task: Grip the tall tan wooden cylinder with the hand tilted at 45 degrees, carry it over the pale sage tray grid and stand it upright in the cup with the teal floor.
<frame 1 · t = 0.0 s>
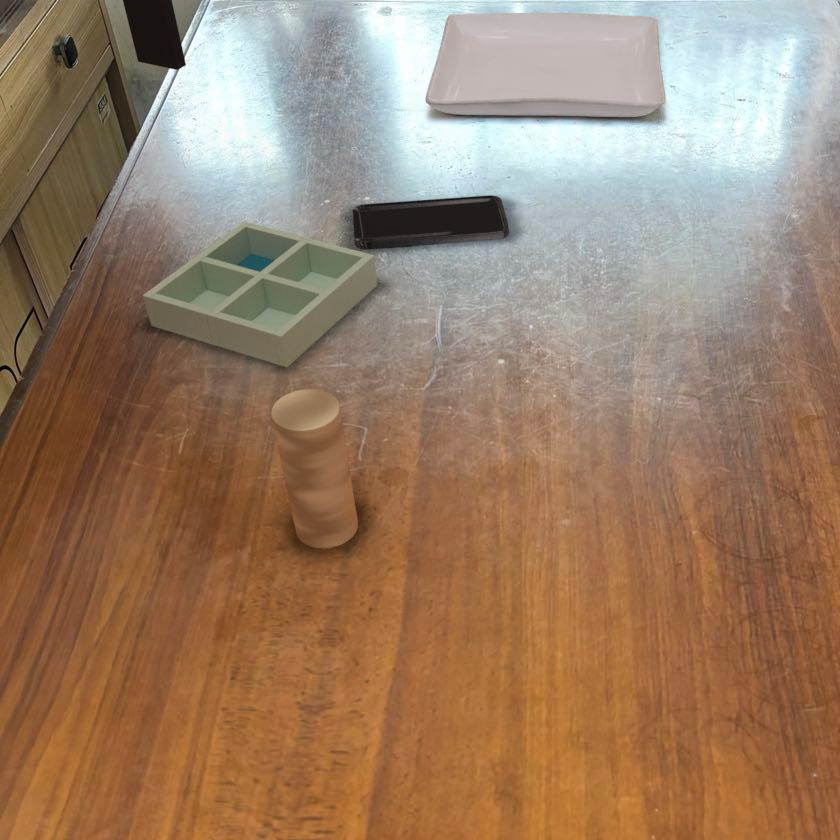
hand: (74, 111, 56), 31 cm above the table, tool pointing down, fingers open, 13 cm apart
phone: (430, 230, 110), on the table
grid: (268, 309, 99), on the table
square plate: (548, 85, 136), on the table
tan wooden cylinder: (328, 531, 79), on the table
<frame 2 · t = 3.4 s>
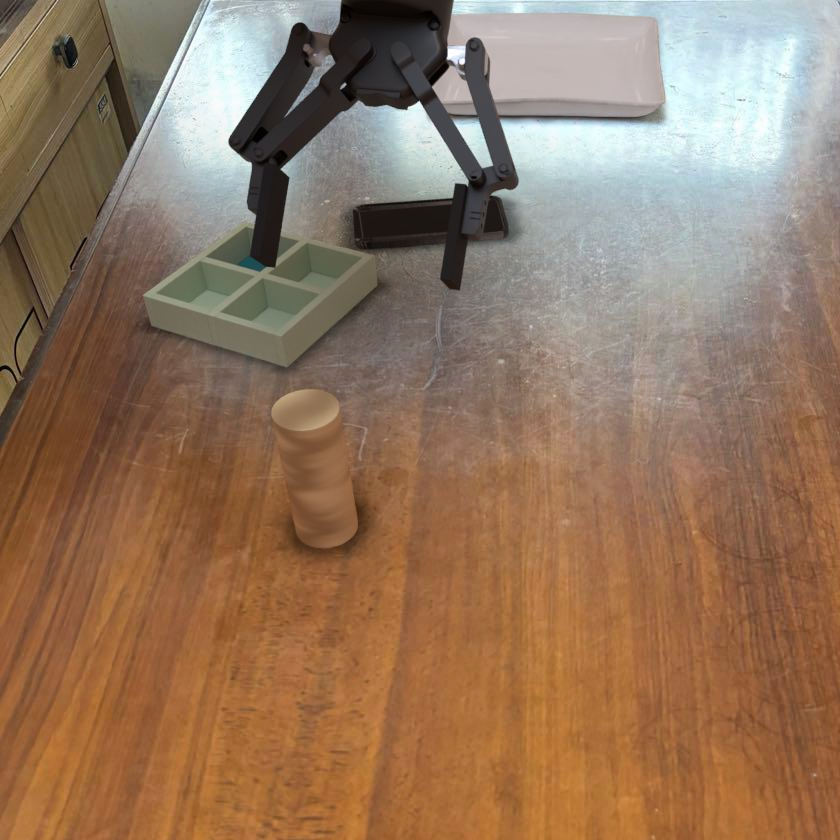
hand: (354, 274, 76), 15 cm above the table, tool tilted 45°, fingers open, 13 cm apart
nothing on the table moved.
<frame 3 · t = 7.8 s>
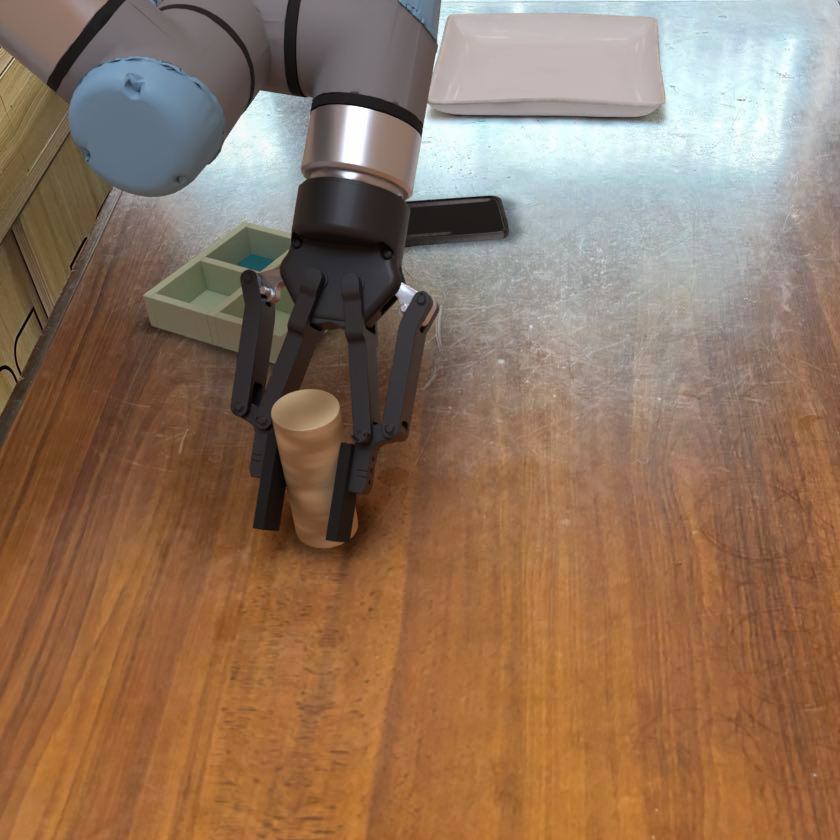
hand: (301, 534, 74), 3 cm above the table, tool tilted 45°, fingers closed on tan wooden cylinder, 4 cm apart
tan wooden cylinder: (328, 531, 79), on the table, touching gripper
everything else where it was.
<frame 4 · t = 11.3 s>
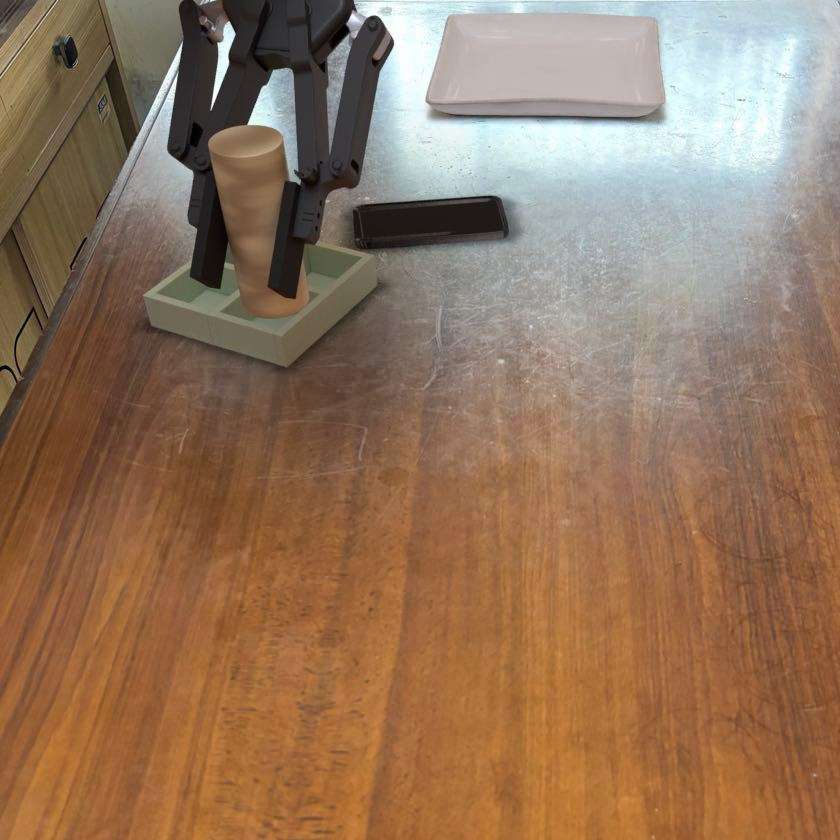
hand: (243, 287, 68), 18 cm above the table, tool tilted 45°, fingers closed on tan wooden cylinder, 4 cm apart
tan wooden cylinder: (276, 300, 73), point 15 cm above the table, touching gripper
everything else where it was.
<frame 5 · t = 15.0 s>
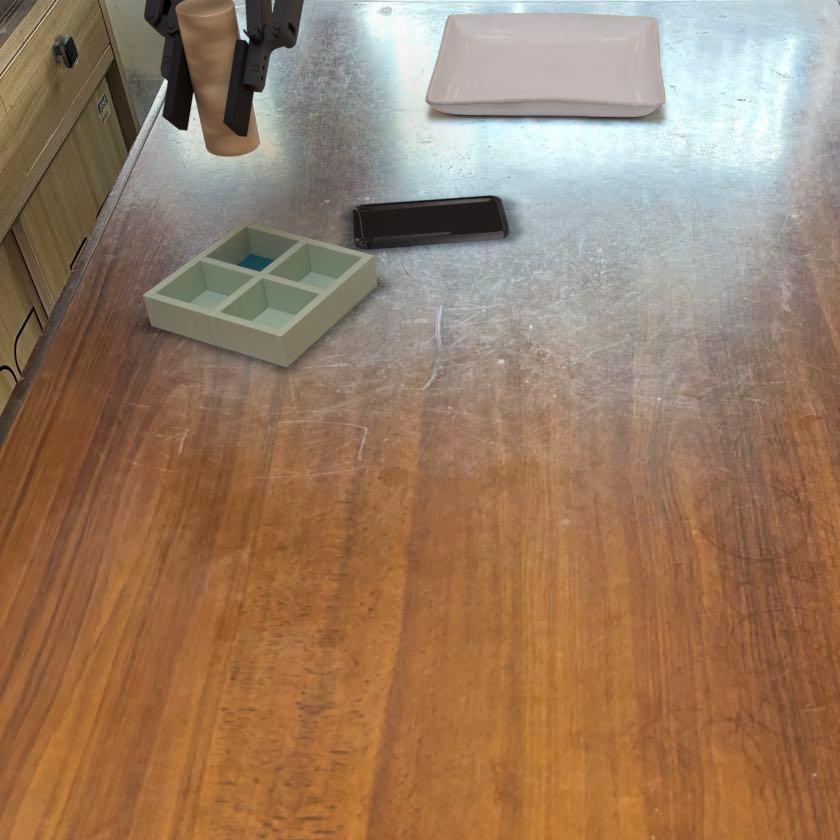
hand: (205, 126, 87), 17 cm above the table, tool tilted 45°, fingers closed on tan wooden cylinder, 4 cm apart
tan wooden cylinder: (233, 145, 91), point 14 cm above the table, touching gripper
everything else where it was.
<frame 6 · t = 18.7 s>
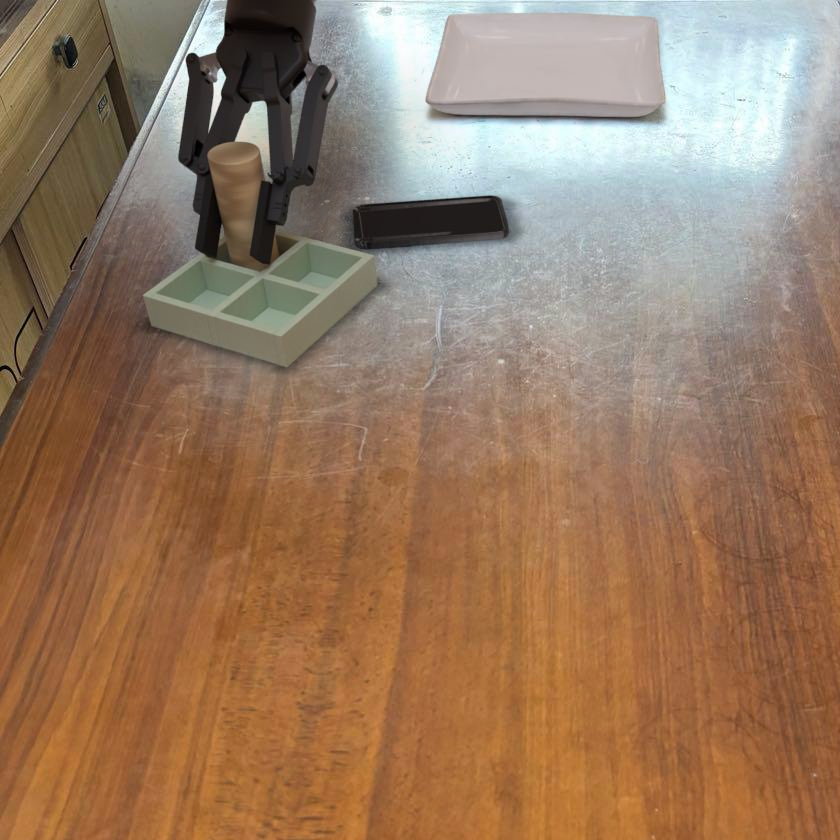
hand: (232, 256, 97), 5 cm above the table, tool tilted 45°, fingers closed on tan wooden cylinder, 4 cm apart
tan wooden cylinder: (256, 267, 102), point 2 cm above the table, touching gripper
everything else where it was.
when the fingers open (6 cm above the table, at t = 22.6 s): tan wooden cylinder drops 2 cm, resting on grid.
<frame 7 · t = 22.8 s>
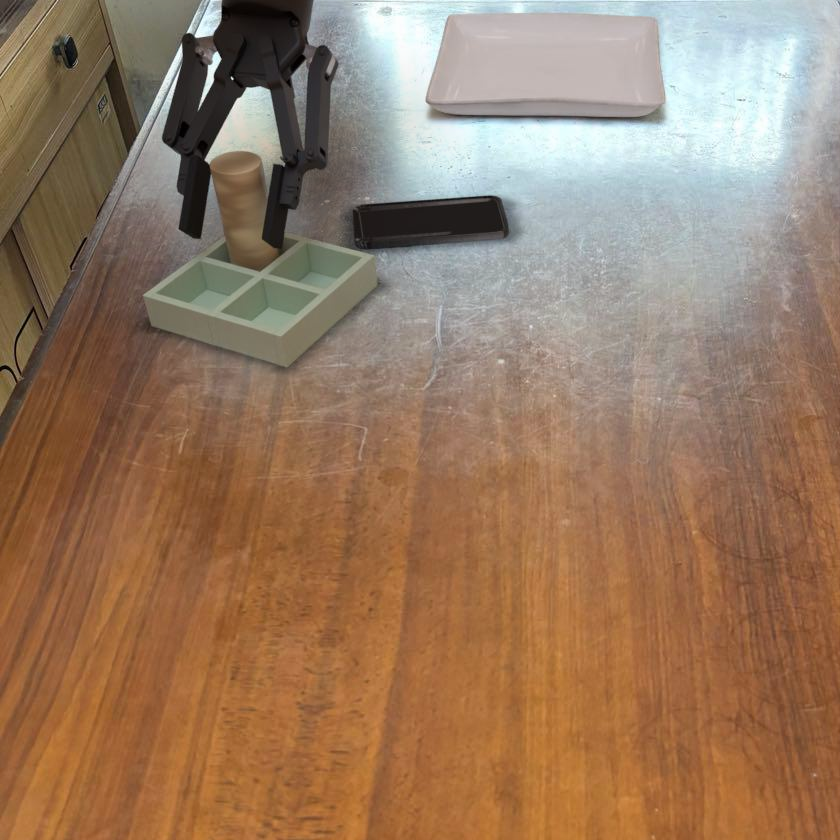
hand: (230, 238, 96), 6 cm above the table, tool tilted 45°, fingers open, 7 cm apart
tan wooden cylinder: (258, 275, 102), point 1 cm above the table, touching grid
everything else where it was.
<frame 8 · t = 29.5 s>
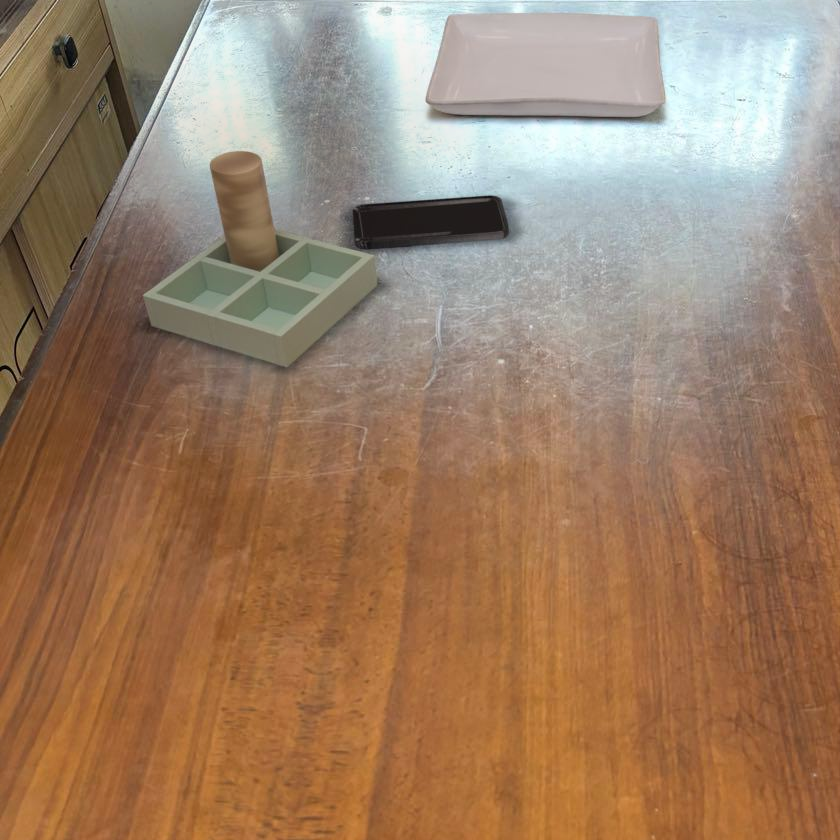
nothing on the table moved.
at the end: tan wooden cylinder 0.0 cm from the target spot in the grid, point 0.8 cm above the grid's base; tan wooden cylinder tilted 0°; the gripper is holding nothing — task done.
